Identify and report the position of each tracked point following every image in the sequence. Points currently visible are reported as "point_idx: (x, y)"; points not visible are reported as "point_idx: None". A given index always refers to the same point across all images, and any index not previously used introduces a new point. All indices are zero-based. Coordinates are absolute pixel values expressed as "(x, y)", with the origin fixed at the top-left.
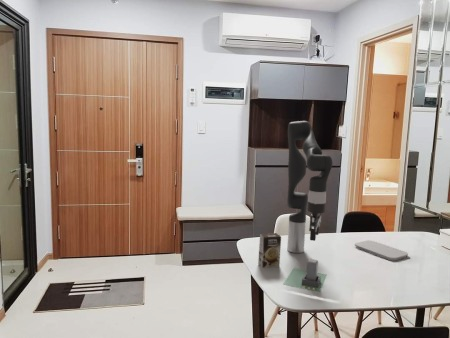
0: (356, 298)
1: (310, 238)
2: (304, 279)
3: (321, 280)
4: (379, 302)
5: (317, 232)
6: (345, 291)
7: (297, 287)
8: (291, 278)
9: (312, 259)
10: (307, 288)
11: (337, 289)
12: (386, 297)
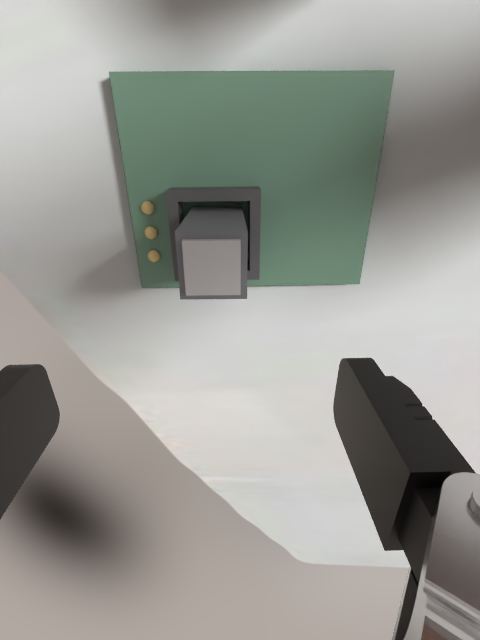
0: (192, 401)
1: (1, 380)
2: (171, 204)
3: (274, 272)
4: (203, 455)
5: (347, 433)
6: (231, 365)
7: (125, 172)
8: (221, 105)
9: (234, 263)
10: (143, 226)
11: (234, 338)
12: (252, 468)
